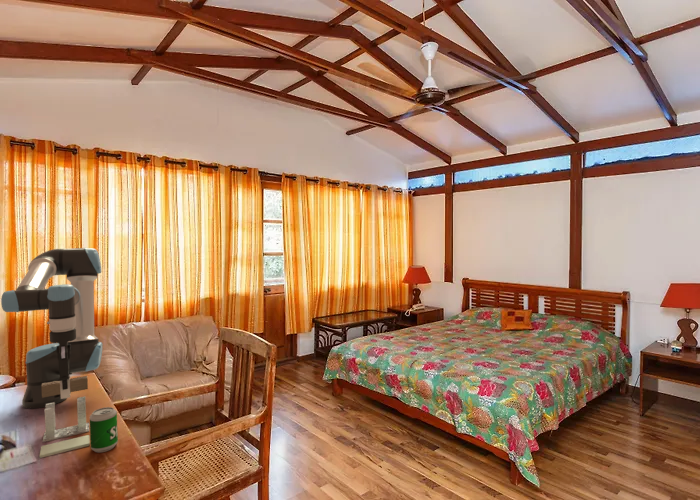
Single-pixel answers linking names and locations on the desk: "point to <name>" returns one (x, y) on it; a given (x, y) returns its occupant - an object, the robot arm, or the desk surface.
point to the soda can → (103, 429)
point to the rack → (68, 431)
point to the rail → (54, 387)
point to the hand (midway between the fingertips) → (65, 396)
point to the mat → (64, 446)
